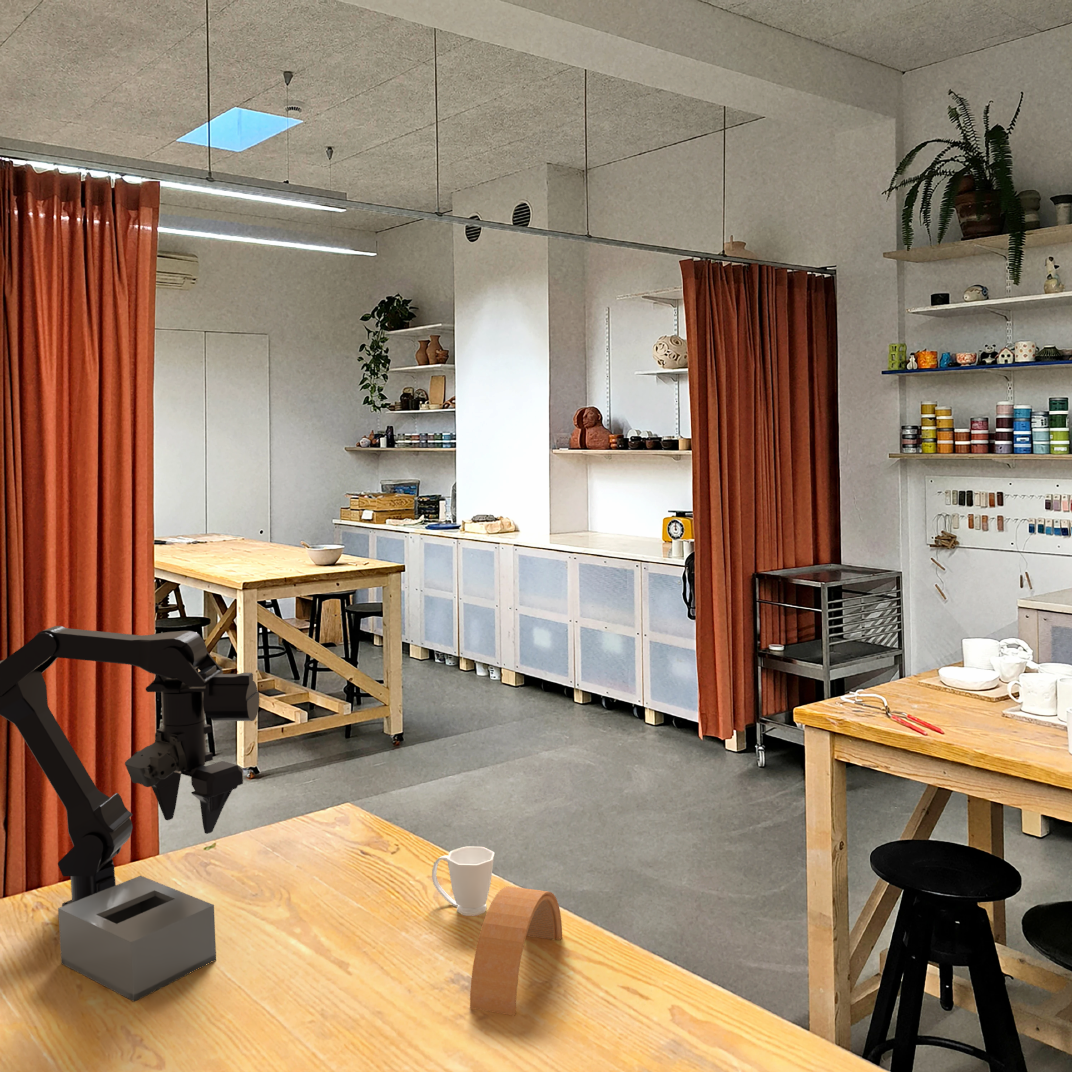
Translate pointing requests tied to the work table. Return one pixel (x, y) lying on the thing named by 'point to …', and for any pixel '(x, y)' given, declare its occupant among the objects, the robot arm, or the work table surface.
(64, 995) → the work table surface
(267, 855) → the work table surface
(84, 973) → the box
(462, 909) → the cup
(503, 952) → the arch
